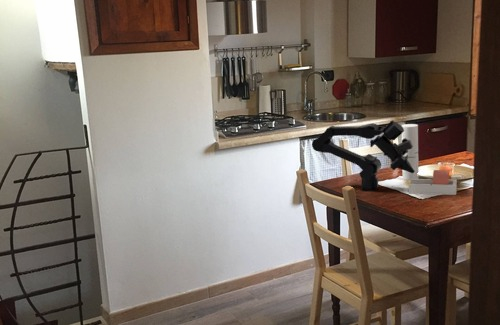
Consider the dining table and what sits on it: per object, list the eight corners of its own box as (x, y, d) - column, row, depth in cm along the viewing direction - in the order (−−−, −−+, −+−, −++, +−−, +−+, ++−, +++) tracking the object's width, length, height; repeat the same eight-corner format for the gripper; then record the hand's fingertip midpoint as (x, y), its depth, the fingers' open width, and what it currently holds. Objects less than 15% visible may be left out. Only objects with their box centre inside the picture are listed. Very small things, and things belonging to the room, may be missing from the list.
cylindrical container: (421, 177, 242) (421, 124, 236) (411, 181, 238) (410, 127, 232) (409, 175, 247) (408, 123, 242) (399, 178, 244) (398, 126, 238)
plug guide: (408, 193, 221) (408, 184, 220) (410, 187, 229) (410, 178, 228) (456, 194, 214) (456, 185, 213) (456, 188, 222) (456, 179, 221)
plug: (433, 192, 219) (433, 173, 217) (434, 187, 224) (433, 169, 222) (448, 192, 216) (448, 174, 214) (448, 188, 222) (448, 170, 220)
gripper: (398, 138, 212) (426, 165, 211) (403, 129, 229) (429, 154, 227) (379, 157, 217) (406, 183, 216) (384, 146, 234) (410, 171, 232)
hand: (413, 172), depth 223 cm, fingers closed
